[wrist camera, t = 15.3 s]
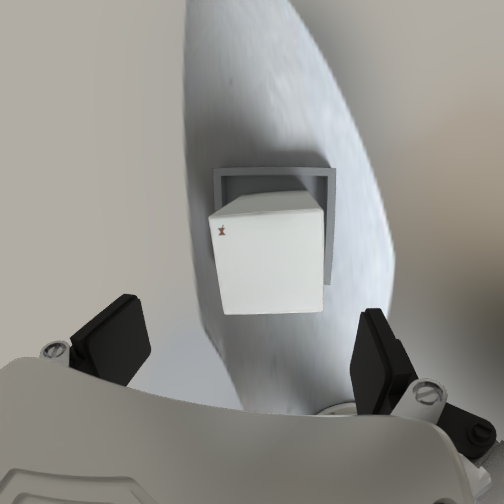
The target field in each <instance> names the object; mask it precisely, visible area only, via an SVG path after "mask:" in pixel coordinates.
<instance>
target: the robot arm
mask: <svg viewBox="0 0 504 504" xmlns="http://www.w3.org/2000/svg"><path fill="white" fill-rule="evenodd" d="M70 340H71V342H72V346H71V347H70V346H69V344H68V343H67V342H65V341H54V342H51V343H49V344H47V345H46V346H44V347H43V348H42V350H41V352H40V357H39V358H35V357H23V358H17V359H15V360H13V361H11V362H10V363H9V364H7V365H6V366H4V367H3V368H2V369H0V504H504V441H503V440H501V441H500V442H498V441H497V440H496V430H495V428H494V426H493V425H492V424H491V423H490V422H489V421H487V420H485V419H483V418H481V417H478V416H476V415H474V414H471V413H469V412H467V411H464V410H462V409H460V408H458V407H455V406H453V405H451V404H449V403H447V402H446V401H447V396H448V394H447V390H446V389H445V387H444V386H443V385H442V384H441V383H440V382H438V381H436V380H433V379H429V378H422V379H419V378H418V376H417V374H416V372H415V370H414V368H413V365H412V364H411V361H410V359H409V357H408V355H407V353H406V351H405V349H404V347H403V345H402V343H401V341H400V340H399V339H396V338H395V336H394V334H393V332H392V330H391V328H390V326H389V324H388V322H387V320H386V318H385V316H384V314H383V312H382V310H381V309H380V308H367V309H366V310H365V312H361V314H360V320H359V325H358V330H357V335H356V340H355V345H354V350H353V354H352V359H351V363H350V376H351V381H352V387H353V392H354V398H355V403H343V404H339V405H335V406H332V407H329V408H327V409H325V410H323V411H321V412H320V413H318V414H317V415H292V414H274V413H262V412H252V411H243V410H234V409H227V408H220V407H214V406H208V405H202V404H197V403H191V402H186V401H181V400H176V399H172V398H167V397H163V396H159V395H155V394H150V393H147V392H143V391H139V390H136V389H132V388H129V387H126V386H127V385H128V383H129V382H130V380H131V379H132V378H133V377H134V375H135V374H136V373H137V371H138V370H139V368H140V367H141V366H142V364H143V363H144V362H145V361H146V359H147V358H148V357H149V355H150V353H151V346H150V342H149V338H148V333H147V329H146V325H145V320H144V315H143V311H142V306H141V301H140V299H138V298H137V296H136V295H131V294H123V295H122V296H120V297H119V298H118V299H116V300H115V301H114V302H113V303H111V304H110V305H109V306H108V307H107V308H105V309H104V310H103V311H102V312H100V313H99V314H98V315H97V316H95V317H94V318H93V319H92V320H91V321H89V322H88V323H87V324H86V325H84V326H83V327H82V328H81V329H80V330H79V331H77V332H76V333H75V334H74V335H73V336H71V337H70Z"/></svg>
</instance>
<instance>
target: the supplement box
mask: <svg viewBox="0 0 504 504" xmlns="http://www.w3.org/2000/svg"><path fill="white" fill-rule="evenodd" d="M208 220H209V226H210V232H211V239H212V245H213V251H214V257H215V263H216V269H217V275H218V282H219V288H220V294H221V300H222V306H223V311H224V314H227V315H231V314H280V313H306V312H322V311H323V292H324V211H323V209H322V208H321V207H320V206H319V205H318V203H317V202H316V201H315V199H314V198H313V196H312V195H311V194H310V192H309V191H308V190H293V191H277V192H265V193H255V194H245V195H242V196H240V197H238V198H237V199H235V200H234V201H232V202H231V203H229V204H228V205H226V206H224V207H223V208H221V209H220V210H218V211H217V212H215V213H213V214H212V215H210V216H209V217H208Z"/></svg>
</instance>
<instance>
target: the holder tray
mask: <svg viewBox="0 0 504 504" xmlns="http://www.w3.org/2000/svg"><path fill="white" fill-rule="evenodd" d="M213 187H214V210H215V212H217V211H218V210H220V209H221V208H223V207H224V206H226V205H228V204H229V203H231V202H232V201H234V200H235V199H237V198H238V197H240V196H242V195H245V194H255V193H265V192H277V191H293V190H308V191H309V192H310V194H311V195H312V196H313V198H314V199H315V201H316V202H317V203H318V205H319V206H320V207H321V208H322V209H323V211H324V285H330V280H331V269H332V257H333V242H334V224H335V199H336V168H317V167H233V168H213Z"/></svg>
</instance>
